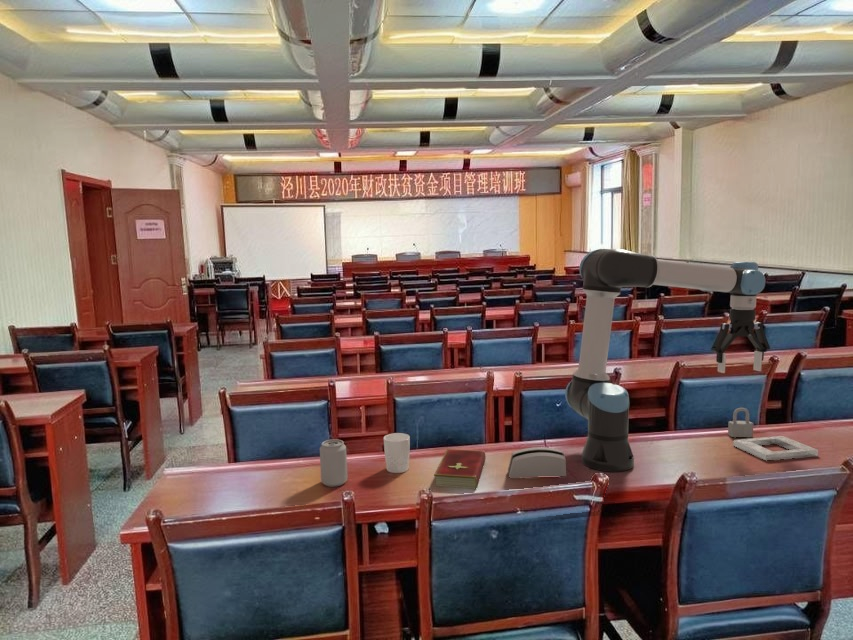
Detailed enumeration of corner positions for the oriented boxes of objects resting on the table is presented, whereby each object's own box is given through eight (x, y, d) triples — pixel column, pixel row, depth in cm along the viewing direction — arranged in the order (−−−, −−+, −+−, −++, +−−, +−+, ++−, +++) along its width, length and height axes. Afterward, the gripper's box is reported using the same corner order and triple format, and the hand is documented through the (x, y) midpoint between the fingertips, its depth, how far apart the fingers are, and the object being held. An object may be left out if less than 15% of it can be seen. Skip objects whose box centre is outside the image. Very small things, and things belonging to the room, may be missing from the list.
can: (348, 477, 168) (347, 437, 167) (346, 487, 161) (344, 446, 159) (323, 478, 168) (321, 438, 166) (319, 488, 160) (317, 447, 159)
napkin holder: (562, 470, 169) (565, 443, 165) (566, 481, 165) (570, 454, 160) (506, 472, 169) (507, 445, 164) (508, 483, 165) (510, 456, 160)
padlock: (732, 438, 193) (734, 409, 192) (726, 434, 197) (727, 406, 196) (754, 438, 193) (755, 409, 192) (747, 434, 197) (748, 405, 196)
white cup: (387, 475, 169) (386, 442, 167) (382, 466, 176) (381, 434, 175) (413, 472, 171) (412, 439, 169) (407, 463, 178) (406, 431, 177)
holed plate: (765, 461, 172) (766, 454, 172) (733, 446, 186) (733, 440, 186) (817, 456, 175) (818, 449, 175) (782, 441, 189) (782, 435, 189)
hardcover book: (485, 462, 178) (485, 449, 177) (477, 490, 157) (476, 476, 157) (447, 460, 180) (447, 447, 180) (434, 488, 160) (434, 473, 159)
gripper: (716, 310, 184) (713, 375, 187) (784, 308, 188) (780, 371, 191) (701, 308, 192) (698, 370, 194) (767, 306, 196) (763, 367, 198)
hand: (739, 371), depth 192 cm, fingers open, 13 cm apart
